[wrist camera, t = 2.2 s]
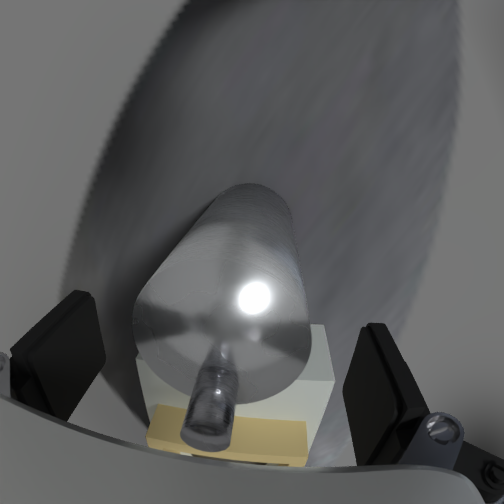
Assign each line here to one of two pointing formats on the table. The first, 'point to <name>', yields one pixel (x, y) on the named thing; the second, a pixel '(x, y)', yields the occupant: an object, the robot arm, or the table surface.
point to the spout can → (227, 312)
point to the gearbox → (250, 415)
